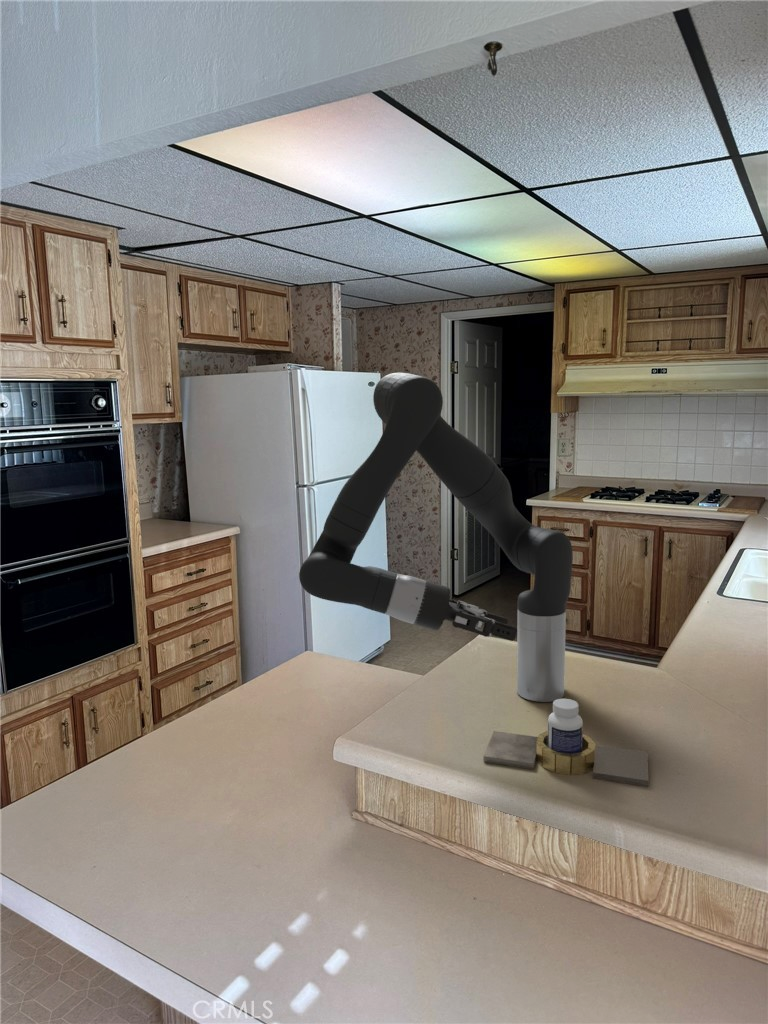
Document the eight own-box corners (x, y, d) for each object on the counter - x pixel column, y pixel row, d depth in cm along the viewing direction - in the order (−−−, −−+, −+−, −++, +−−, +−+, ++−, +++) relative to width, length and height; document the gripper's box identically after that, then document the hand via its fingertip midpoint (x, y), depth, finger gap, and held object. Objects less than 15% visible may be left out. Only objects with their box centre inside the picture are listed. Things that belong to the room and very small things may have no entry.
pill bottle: (588, 765, 111) (590, 708, 109) (558, 771, 109) (559, 713, 108) (570, 749, 116) (571, 694, 114) (541, 754, 114) (542, 698, 113)
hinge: (493, 736, 121) (493, 720, 121) (647, 757, 113) (647, 740, 112) (483, 761, 113) (483, 744, 112) (648, 786, 104) (649, 768, 104)
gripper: (426, 585, 108) (526, 615, 108) (421, 575, 122) (509, 601, 122) (412, 631, 108) (512, 661, 108) (409, 615, 122) (497, 642, 123)
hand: (510, 629), depth 115 cm, fingers open, 8 cm apart
